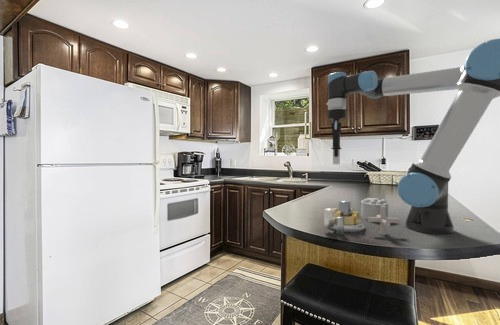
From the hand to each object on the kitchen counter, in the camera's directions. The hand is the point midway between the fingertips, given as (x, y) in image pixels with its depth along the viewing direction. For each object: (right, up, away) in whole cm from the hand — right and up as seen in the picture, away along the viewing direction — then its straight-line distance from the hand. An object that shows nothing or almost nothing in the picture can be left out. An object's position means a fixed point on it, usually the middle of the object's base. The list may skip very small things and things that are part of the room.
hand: (336, 164), depth 111 cm
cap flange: (0, -25, -10) cm, 27 cm away
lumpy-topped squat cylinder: (+19, -25, +4) cm, 31 cm away
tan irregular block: (-3, -22, -13) cm, 26 cm away
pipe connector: (+10, -25, -20) cm, 33 cm away
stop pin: (-5, -25, -20) cm, 32 cm away
